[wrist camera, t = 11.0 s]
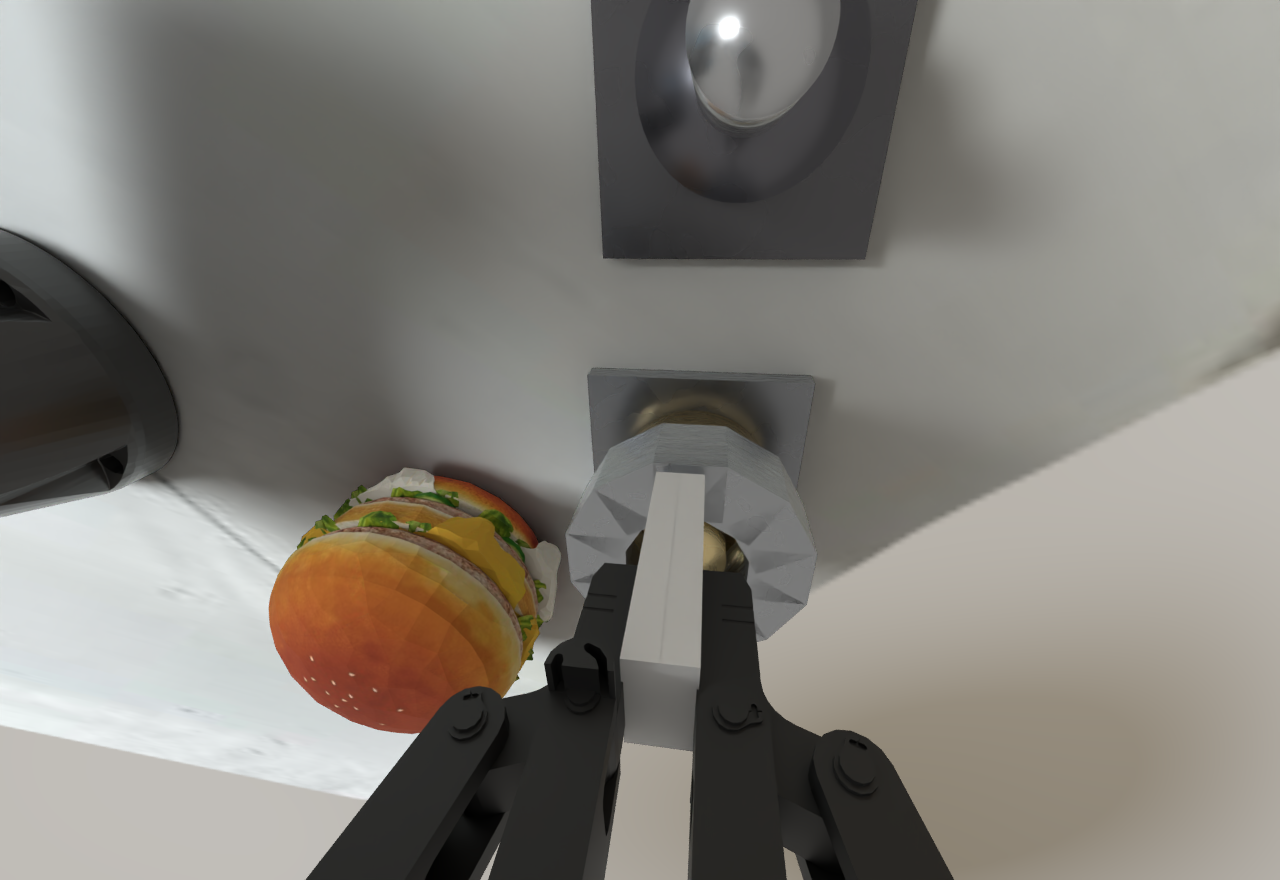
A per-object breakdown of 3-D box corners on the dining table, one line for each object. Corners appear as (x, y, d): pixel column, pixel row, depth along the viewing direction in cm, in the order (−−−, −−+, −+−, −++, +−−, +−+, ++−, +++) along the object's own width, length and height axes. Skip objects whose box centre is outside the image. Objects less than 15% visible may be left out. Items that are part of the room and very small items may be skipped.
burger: (323, 459, 27) (139, 585, 19) (538, 443, 25) (440, 581, 16) (409, 620, 33) (301, 773, 25) (590, 621, 31) (540, 793, 22)
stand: (608, 255, 20) (535, 297, 12) (594, -80, 15) (456, -386, 7) (857, 255, 18) (965, 305, 10) (929, -112, 13) (1227, -536, 6)
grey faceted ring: (554, 537, 21) (532, 585, 19) (650, 382, 17) (639, 416, 14) (719, 623, 22) (719, 680, 20) (848, 497, 18) (870, 549, 16)
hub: (603, 533, 27) (569, 634, 21) (592, 367, 22) (545, 435, 16) (781, 548, 25) (802, 661, 19) (810, 375, 21) (850, 453, 15)
